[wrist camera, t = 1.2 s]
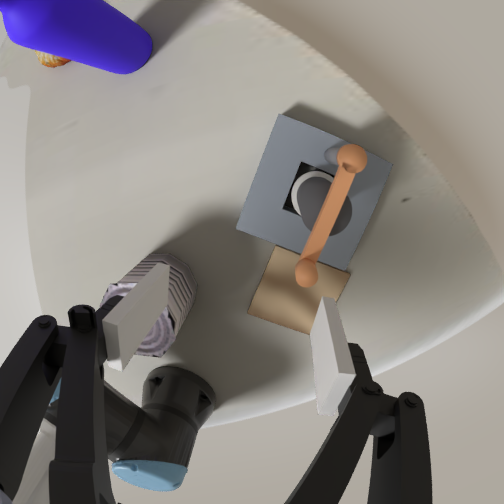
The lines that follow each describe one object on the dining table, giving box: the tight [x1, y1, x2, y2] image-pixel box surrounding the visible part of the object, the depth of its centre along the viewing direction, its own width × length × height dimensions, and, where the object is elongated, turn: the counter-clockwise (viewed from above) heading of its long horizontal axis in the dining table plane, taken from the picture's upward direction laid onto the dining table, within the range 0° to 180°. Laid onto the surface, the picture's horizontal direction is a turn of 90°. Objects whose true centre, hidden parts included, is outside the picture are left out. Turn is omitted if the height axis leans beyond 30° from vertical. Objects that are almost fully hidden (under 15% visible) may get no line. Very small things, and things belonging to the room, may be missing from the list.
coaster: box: [247, 245, 350, 335], centre depth 45 cm, size 12×12×1 cm
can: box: [100, 254, 197, 357], centre depth 41 cm, size 11×11×12 cm
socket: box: [236, 114, 393, 271], centre depth 33 cm, size 16×16×13 cm
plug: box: [291, 171, 352, 236], centre depth 33 cm, size 6×6×13 cm
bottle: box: [0, 0, 152, 74], centre depth 20 cm, size 8×8×30 cm
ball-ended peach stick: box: [295, 144, 367, 287], centre depth 25 cm, size 13×3×3 cm, turn 160°
